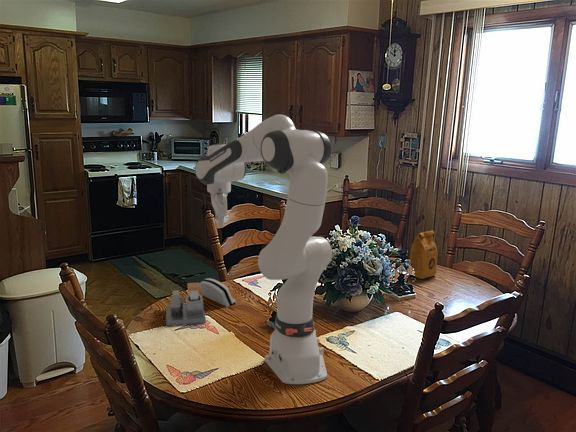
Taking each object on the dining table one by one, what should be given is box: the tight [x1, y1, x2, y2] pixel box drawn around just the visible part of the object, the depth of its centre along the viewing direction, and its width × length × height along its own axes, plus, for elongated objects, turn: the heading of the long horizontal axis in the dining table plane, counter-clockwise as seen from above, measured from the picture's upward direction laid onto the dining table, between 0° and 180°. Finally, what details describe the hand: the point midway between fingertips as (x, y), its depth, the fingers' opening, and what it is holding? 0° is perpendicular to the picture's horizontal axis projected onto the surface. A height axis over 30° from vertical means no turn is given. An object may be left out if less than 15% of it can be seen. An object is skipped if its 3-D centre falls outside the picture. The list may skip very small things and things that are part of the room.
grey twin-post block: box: [165, 289, 207, 327], centre depth 184 cm, size 16×14×8 cm
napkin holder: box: [199, 277, 238, 308], centre depth 199 cm, size 17×5×10 cm, turn 45°
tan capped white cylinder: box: [187, 282, 201, 301], centre depth 183 cm, size 4×4×10 cm
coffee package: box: [409, 230, 439, 280], centre depth 231 cm, size 10×12×22 cm
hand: (219, 222), depth 186 cm, fingers open, 8 cm apart
